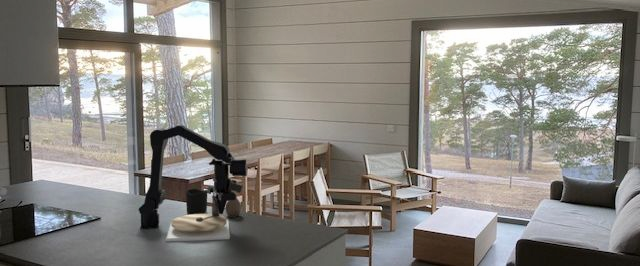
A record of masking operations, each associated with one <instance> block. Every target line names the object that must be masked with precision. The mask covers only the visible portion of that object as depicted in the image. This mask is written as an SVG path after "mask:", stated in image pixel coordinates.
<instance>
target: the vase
mask: <svg viewBox="0 0 640 266" xmlns="http://www.w3.org/2000/svg"><path fill="white" fill-rule="evenodd" d="M225 213H226V215H227V216H228V217H229V218H235V217H236V218H237V217H238V216H239V215H240V214H241V213H242V204H241V201H240V200H239V199H238V197H237V196H236V200H230V201H227V202H226V205H225Z"/></svg>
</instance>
